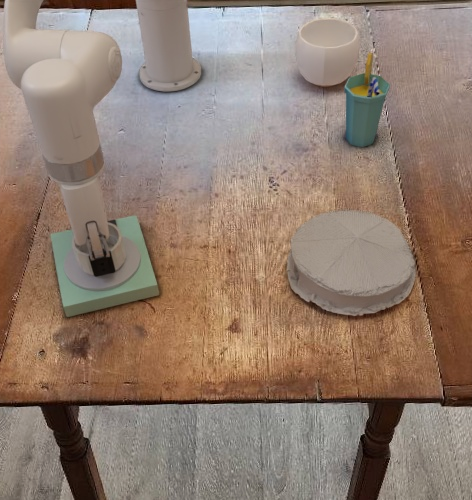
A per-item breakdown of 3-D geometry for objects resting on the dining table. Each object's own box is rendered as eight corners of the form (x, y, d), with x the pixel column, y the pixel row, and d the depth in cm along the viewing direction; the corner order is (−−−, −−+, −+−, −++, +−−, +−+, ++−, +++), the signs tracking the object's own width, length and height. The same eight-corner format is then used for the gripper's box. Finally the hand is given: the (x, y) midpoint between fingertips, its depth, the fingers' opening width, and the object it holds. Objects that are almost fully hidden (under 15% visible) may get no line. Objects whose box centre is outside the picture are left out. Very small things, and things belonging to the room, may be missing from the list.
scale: (53, 244, 109) (49, 231, 107) (138, 225, 111) (136, 211, 109) (66, 317, 100) (61, 304, 98) (159, 295, 102) (156, 281, 100)
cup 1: (358, 64, 139) (363, 17, 131) (353, 98, 131) (359, 51, 124) (298, 60, 140) (299, 14, 133) (290, 94, 133) (291, 47, 125)
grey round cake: (264, 245, 108) (263, 213, 102) (375, 210, 112) (380, 177, 106) (320, 337, 96) (323, 306, 91) (441, 294, 100) (451, 262, 95)
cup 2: (389, 164, 119) (402, 87, 107) (344, 166, 119) (353, 89, 107) (376, 117, 127) (387, 40, 115) (335, 119, 127) (342, 43, 115)
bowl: (75, 249, 104) (68, 227, 101) (121, 238, 105) (116, 216, 102) (82, 282, 100) (75, 261, 96) (130, 271, 101) (125, 249, 98)
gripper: (37, 125, 93) (68, 222, 106) (53, 207, 82) (84, 302, 96) (92, 115, 94) (115, 212, 108) (114, 193, 83) (136, 290, 97)
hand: (100, 254), depth 102 cm, fingers closed on bowl, 7 cm apart
